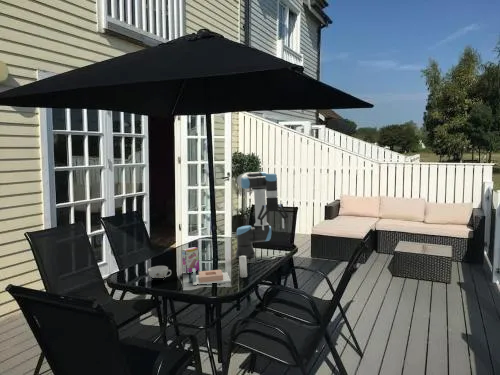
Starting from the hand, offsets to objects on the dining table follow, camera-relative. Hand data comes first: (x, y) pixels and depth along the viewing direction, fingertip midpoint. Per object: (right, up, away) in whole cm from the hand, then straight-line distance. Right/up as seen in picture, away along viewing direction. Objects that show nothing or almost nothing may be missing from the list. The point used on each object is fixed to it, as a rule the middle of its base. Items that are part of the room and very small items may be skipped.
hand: (273, 229), depth 280 cm
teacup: (-73, -33, -5) cm, 80 cm away
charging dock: (-40, -31, -10) cm, 52 cm away
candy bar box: (-55, -31, +10) cm, 64 cm away
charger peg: (-19, -30, -7) cm, 36 cm away
